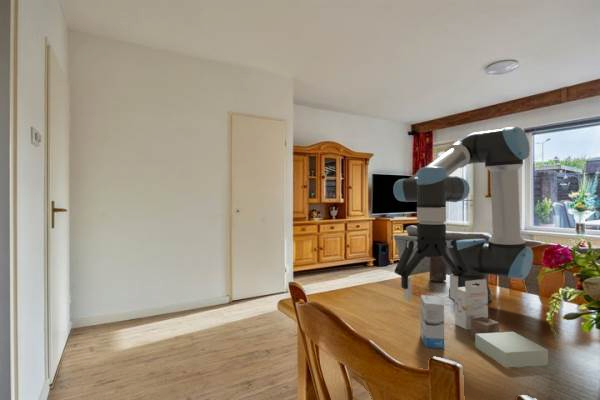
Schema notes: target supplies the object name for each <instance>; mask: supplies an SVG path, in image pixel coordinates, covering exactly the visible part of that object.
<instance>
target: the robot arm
mask: <svg viewBox="0 0 600 400" xmlns="http://www.w3.org/2000/svg"><path fill="white" fill-rule="evenodd" d="M530 150H531V149H530V143H529V139H528V136H527V134H526V133H525V131H524V130H523V128H521V127H519V126H509V127H507V126H505V127H502V128H495V129H490V130H483V131H477V132H473V133H472V132H471V133H470V134H467V135H465V136H463V137H462V138H459V139H457V140H456V141H455V142H453V143H451V144H450V145H449V146H447V147H446V149H445V151H444V153H442V154H441V155H439V156H438V157H437V158H435V159H434V160H432V161H431V162H429V163H428V164H427V165H426V166H424V167H420V168H419V169H418V170H417V172H415V173H414V174H413V175H412V176H410V177H409V178H401V179H400V178H399V179H398V180H397V181H395V182H394V184H393V189H392V190H393V191H392V192H393V195H394V197H395V199H396V200H397V201H399V202H407V203H409V202H411V203H412V202H415V203H416V202H417V203H416V221H417V222H418V223H417V224H416V241H414V240H413V241H412V240H410V239H407V240H406V242H405V247H404V249H403V252H402V254H401V256H400V259H399V260H398V262H397V265H396V267H395V269H394V273H395V274H396V275H399V276H401V279H400V280H401V283H400V284H401V288H402V289H404V290H403V292H404V293H403V295H404V298H403V299H404V300H405V301H407V302H408V303H411V302H412V277H410V275H412V272H413V271H414V270H415V269H416V267H417V266H418V265H419V264H420V262H421V261H422V260H424V259H425V258H430V257H432V256H434V257H438V256H439V257H440V258H441V259H442V260H443V262H444V263H445V264H446V268H448V269H449V270H450V272H451V273H452V274H449V288H448V296H449V298H451V299H452V300H454V301H455V300H458V287H465V281H472V280H483V279H486V282H487V290H488V303H489V302H491V301H492V292H491V290H490V287H489V283H488V280H487V275H491V276H498V277H503V278H508V279H515V280H522V279H525V278H526V277H527V276H528V275H529V274H530V271H531V269H532V267H533V261H534V252H533V249H532V248H531V247H529V246H526V245H527V243H526V240H525V239H524V238H523V237H522V236H521V218H520V216H521V215H520V190H519V186H520V184H519V169H520V168H521V167H523V166H524V160H526V159H528V158H529V156H530ZM481 163H484V167H485V169H487V170H488V171H489V174H490V175H489V176H490V177H489V179H490V200H491V201H490V203H491V204H490V205H491V220H492V221H491V225H492V236H491V237H490V238H488V240H486V239H485V238H469V239H468V238H467V239H459V240H453V239H448V240H446V237H447V226H446V224H445V223H446V222H447V203H448V202H449V203H450V202H451V203H458V202H462V201H465V200H466V198H467V197H468V196H469V194H470V190H471V189H470V185H469V182H468V180H466V179H465V178H463V177H459V176H456V175H455V176H450V175H452V174H453V173H454V172H456V170H458V169H461V168H465V167H466V166H468V165H471V164H481ZM445 240H446V241H445ZM487 241H488V242H487ZM445 247H446V249H447V248H448V251H449V253H450V256H451V257H452V259H451V258H450V257H449V254H448V253H447V251H446V252H445V251H444V249H445ZM416 248H417V250H416V251H415V252H414V249H416ZM413 252H414V255H413ZM412 255H413V256H412ZM411 256H412V257H411ZM475 285H476V286H479V285H480V284H477V283H475V284H473V285H472V286H475Z"/></svg>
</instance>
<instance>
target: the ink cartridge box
mask: <svg viewBox="0 0 600 400" xmlns="http://www.w3.org/2000/svg"><path fill="white" fill-rule="evenodd" d="M486 281H487V278H486V279H483V280H472V281H465V287H458V300H454V322H455V323H454V324H455V325H456V326H458V327H461V329H464V330H471V319H474V318H479V317H486V318H488V319H489V302H488V290H487V284H488V281H487V282H486ZM475 283H477V284H480V285H479V286H476V285H475V286H472V285H473V284H475Z"/></svg>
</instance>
